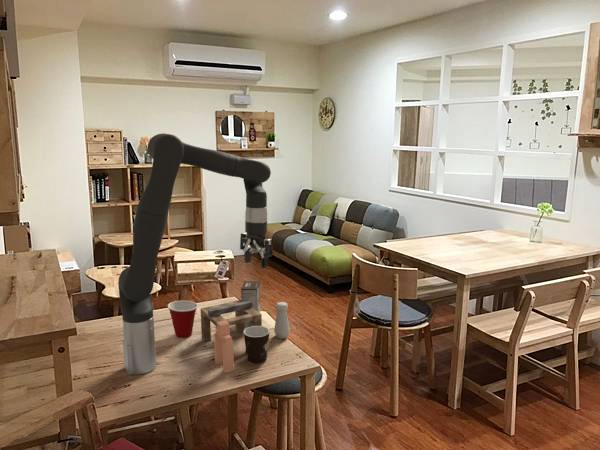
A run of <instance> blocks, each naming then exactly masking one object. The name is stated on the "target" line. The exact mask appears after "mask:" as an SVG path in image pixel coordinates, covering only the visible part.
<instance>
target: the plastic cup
mask: <svg viewBox="0 0 600 450" xmlns="http://www.w3.org/2000/svg"><path fill="white" fill-rule="evenodd" d="M167 307H168V308H167V309H168V310H169V315H170V317H171V321H172V327H173V330H174V334H175V337H176V338H179V339H186V338H190V337H191V336H192V334H193V328H194V323H195V316H196V313H197V309H198V307H199V304H198V303H197V302H195V301H192V300H175V301H171V302H170V303H168V305H167Z"/></svg>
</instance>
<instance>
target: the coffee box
mask: <svg viewBox="0 0 600 450" xmlns="http://www.w3.org/2000/svg"><path fill="white" fill-rule="evenodd" d="M240 293H241V300H242V301H244V302H246V301H251V302H252V308H253V309H255V310H256V311H258V312H259V313H261V281H260V280H245V281H244V280H243V283H242V287H241V291H240ZM244 315H245V314H244ZM251 326H252V321H248V322H245V329H246V328H248V327H251Z"/></svg>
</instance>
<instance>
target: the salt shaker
mask: <svg viewBox="0 0 600 450" xmlns="http://www.w3.org/2000/svg"><path fill="white" fill-rule="evenodd" d="M275 309H276V311H277V312H276V317H275V323H274V328H273V331H274V334H275V337H276V338H277V339H280V340H284V339H287V338H288V336H289V334H290V333H291V329H290V324H289V323H290V322H289V319H288V314H287V310H288V309H289V305H288V303H287V302H285V301H279V302H277V303H276V304H275Z"/></svg>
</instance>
